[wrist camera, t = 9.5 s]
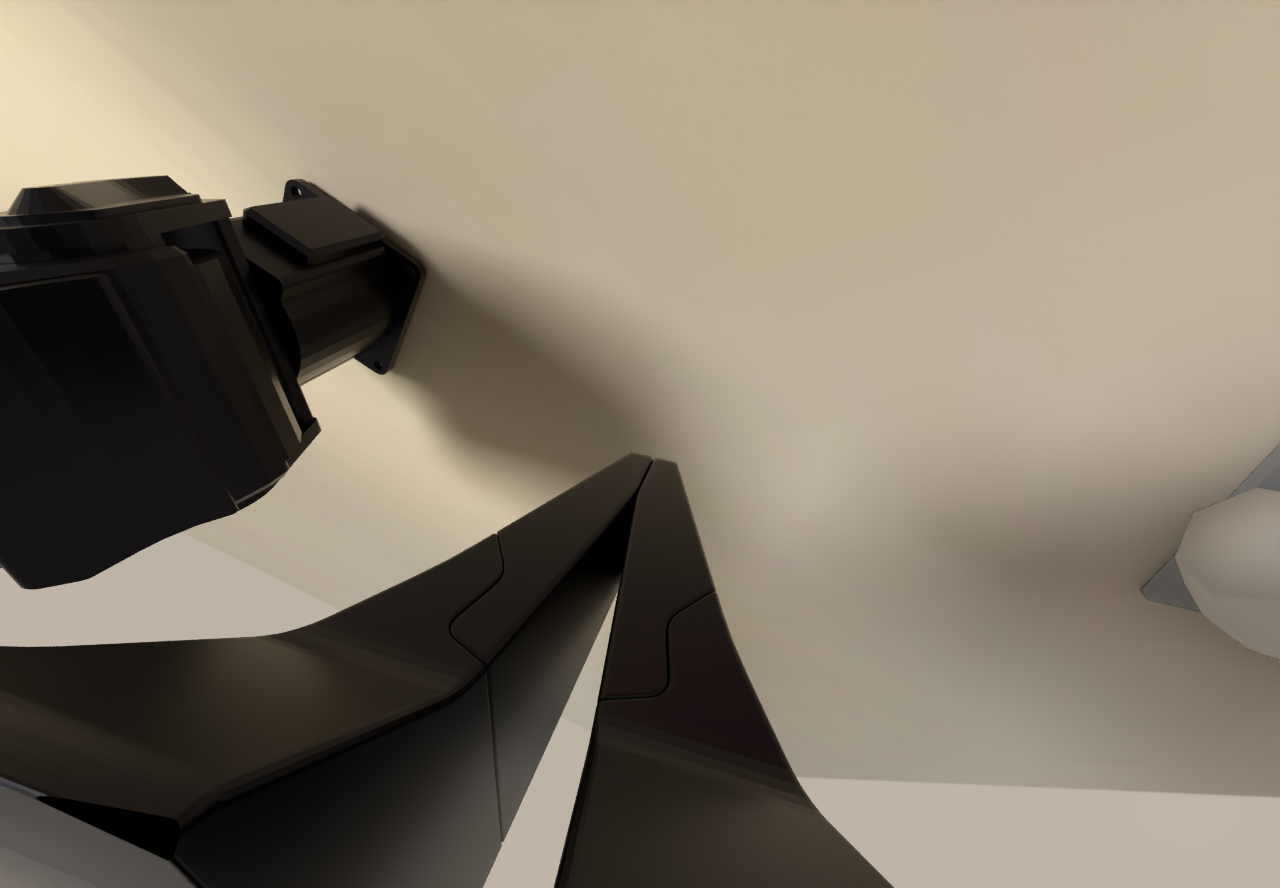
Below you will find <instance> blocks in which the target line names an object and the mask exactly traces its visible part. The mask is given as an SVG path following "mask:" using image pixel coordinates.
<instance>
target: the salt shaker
mask: <svg viewBox="0 0 1280 888" xmlns="http://www.w3.org/2000/svg"><path fill="white" fill-rule="evenodd" d="M1175 559H1176V561H1177V564H1178V567H1179V570H1180V572H1181V575H1182V578H1183V580H1184V583H1185V585H1186V587H1187V589H1188V590H1189V592H1190V594H1191V595H1192V597H1193V599H1194V601H1195V602H1196V604H1197V606H1198V607H1199V609H1200V611H1201V612H1202V614H1203V615H1204V616H1205V617H1206V618H1207V619H1208V620H1209V621H1210V622H1211V623H1213V624H1214V625H1215V626H1217V627H1218V628H1219V629H1221V630H1222V631H1224V632H1225V633H1226V634H1228V635H1229V636H1230V637H1232V638H1233V639H1235V640H1236V641H1237V642H1239V643H1240V644H1241V645H1243V646H1244V647H1245V648H1247V649H1249V650H1252V651H1255V652H1258V653H1261V654H1264V655H1267V656H1270V657H1273V658H1276V659H1279V660H1280V492H1279V491H1274V490H1268V489H1262V488H1255V489H1252V490H1250V491H1247V492H1245V493H1242V494H1239V495H1237V496H1234V497H1232V498H1229V499H1226V500H1224V501H1221V502H1219V503H1216V504H1214V505H1211V506H1208V507H1206V508H1203V509H1201V510H1198V511H1195V512H1193V514H1192V517H1191V519H1190V521H1189V524H1188V526H1187V529H1186V531H1185V534H1184V536H1183V539H1182V541H1181V543H1180V546H1179V548H1178V551H1177V553H1176V556H1175Z"/></svg>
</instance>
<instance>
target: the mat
mask: <svg viewBox="0 0 1280 888" xmlns="http://www.w3.org/2000/svg"><path fill="white" fill-rule="evenodd" d="M1255 488H1262V489H1268V490H1274V491H1279V492H1280V444H1279V445H1278V446H1277V447H1276V448H1275V450H1274V451H1273V452H1272V453H1271V454H1270V455H1269V456H1268V457H1267V458H1266V459H1265V460H1264V461H1263V462H1262V463H1261V464H1260V465H1259V466H1258V467H1257V468H1256V470H1255V471H1254V472H1253V473H1252V474H1251V475H1250V476H1249V477H1248V478H1247V479H1246V480H1245V481H1244V482H1243V483H1242V484H1241V485H1240V486H1239V487H1238V488H1237V490H1236V491H1235V492H1234V493H1233V494H1232V495H1231V496H1230V497H1229V498H1232V497H1234V496H1237V495H1239V494H1242V493H1245V492H1247V491H1250V490H1252V489H1255ZM1229 498H1228V499H1229ZM1175 556H1176V554H1175V555H1174V556H1173V557H1172V558H1171V559H1170V560H1169V561H1168V562H1167V563H1166V564H1165V565H1164V566H1163V567H1162V568H1161V569H1160V571H1159V572H1158V573H1157V574H1156V575H1155V576H1154V577H1153V578H1152V579H1151V580H1150V581H1149V582H1148V583H1147V584H1146V585H1145V586H1144V587H1143V588H1142V589H1141V591H1140V592H1141V593H1142V594H1143V595H1144V597H1145V598H1146V599H1147V600H1150V601H1155V602H1159V603H1163V604H1167V605H1172V606H1176V607H1180V608H1185V609H1189V610H1193V611H1197V612H1201V611H1200V609H1199V607H1198V606H1197V604H1196V602H1195V601H1194V599H1193V597H1192V595H1191V594H1190V592H1189V590H1188V589H1187V587H1186V585H1185V583H1184V580H1183V578H1182V575H1181V572H1180V570H1179V567H1178V564H1177V561H1176V559H1175Z"/></svg>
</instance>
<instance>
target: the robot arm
mask: <svg viewBox="0 0 1280 888" xmlns="http://www.w3.org/2000/svg"><path fill="white" fill-rule="evenodd" d="M298 189H299V190H300V191H301V194H302V196H301V195H300V194H299V192H298ZM229 217H232V215H231V213H230V210H229V208H228V205H227V203H226V201H225V199H201V198H200V196H199V194H191V193H187V192H186V191H185V190H184V189H182V188H181V187H180V186H179V185H178V184H177V183H175V182H174V181H173V180H172V179H171V178H170V177H168V176H147V177H134V178H121V179H107V180H95V181H84V182H74V183H65V184H56V185H47V186H38V187H29V188H22V189H21V191H20V193H19V194H18V196H17V197H16V199H15V201H14V202H13V204H12V205H11V207H10V209H9V210H8V211H6V212H0V568H3V569H4V570H5V571H6V572H7V573H8V574H9V575H10V576H11V577H12V578H13V579H14V580H15V581H16V582H17V583H18V585H19V586H20V587H21V588H24V589H41V588H46V587H51V586H57V585H62V584H67V583H73V582H78V581H82V580H86V579H89V578H91V577H93V576H95V575H97V574H99V573H101V572H102V571H104V570H106V569H108V568H110V567H112V566H113V565H115V564H117V563H119V562H121V561H122V560H124V559H126V558H128V557H130V556H132V555H134V554H135V553H137V552H139V551H141V550H143V549H145V548H147V547H149V546H151V545H153V544H155V543H157V542H159V541H161V540H163V539H165V538H167V537H170V536H172V535H175V534H177V533H180V532H182V531H185V530H187V529H189V528H192V527H194V526H197V525H200V524H203V523H206V522H210V521H213V520H216V519H219V518H223V517H226V516H229V515H232V514H234V513H236V512H237V511H239V510H241V509H243V508H245V507H247V506H249V505H250V504H252V503H254V502H256V501H257V500H258V499H260V498H261V497H263V496H264V495H266V494H267V493H268V492H269V491H270V490H271V489H272V488H273V487H274V486H275V485H276V483H277V482H278V481H279V480H280V479H281V478H282V477H283V476H284V475H285V474H286V472H287V471H288V470H289V468H290V467H291V466H292V465H293V463H294V462H295V461H296V460H297V459H298V457H299V456H300V455H301V454H302V453H303V452H304V450H305V449H306V448H307V447H308V446H309V444H310V443H311V442H312V441H313V440H314V439H315V437H316V436H317V435H318V434H319V433H320V432H321V428H320V426H319V423H318V421H317V419H316V418H315V417H313V416H312V413H311V411H310V409H309V406H308V404H307V402H306V399H305V397H304V394H303V392H302V390H301V387H300V386H302V385H304V384H306V383H307V382H309V381H311V380H313V379H315V378H317V377H319V376H321V375H322V374H324V373H326V372H328V371H330V370H332V369H334V368H336V367H337V366H339V365H341V364H343V363H345V362H347V361H349V360H351V359H352V358H354V359H356V360H357V361H359V362H361V363H362V364H364V365H365V366H367V367H368V368H370V369H371V370H373V371H374V372H376V373H378V374H381V375H383V374H386V373H387V372H389V371H391V369H392V368H393V365H394V362H395V360H396V357H397V354H398V351H399V349H400V346H401V343H402V340H403V338H404V335H405V332H406V329H407V327H408V324H409V321H410V318H411V316H412V313H413V310H414V307H415V305H416V302H417V299H418V296H419V294H420V291H421V288H422V285H423V283H424V280H425V277H426V271H425V268H424V266H423V264H422V263H421V262H420V261H419V260H417V259H416V258H414V257H413V256H412V255H410V254H409V253H407V252H406V251H405V250H403V249H402V248H400V247H399V246H397V245H396V244H395V243H393V242H392V241H390V240H389V239H387V238H386V237H385V236H384V235H383V234H382V233H381V231H380V230H379V229H377V228H376V227H374V226H373V225H372V224H370V223H369V222H367V221H366V220H364V219H363V218H362V217H360V216H359V215H357V214H356V213H355V212H353V211H352V210H350V209H349V208H347V207H346V206H345V205H343V204H342V203H340V202H339V201H337V200H336V199H335V198H333V197H332V196H326V195H325V194H323V193H322V192H321V191H319V190H318V189H316V188H315V187H313V186H312V185H311V184H309V183H308V182H306V181H305V180H302V179H292V180H289V181H287V183H286V185H285V191H284V197H283V202H281V203H274V204H267V205H260V206H253V207H249V208H246V209H244V210H243V217H237V218H231V219H229ZM410 267H412V268H413V269H414V271H415V275H413V274H412V273H411V270H410ZM379 361H380V362H381V363H382V365H383V366H382V365H381V364H380V363H379ZM617 591H618V595H617V600H616V605H615V611H614V616H613V621H612V627H611V632H610V637H609V643H608V648H607V653H606V659H605V664H604V669H603V675H602V680H601V685H600V691H599V696H598V702H597V707H596V712H595V717H594V722H593V727H592V732H591V737H590V742H589V746H588V751H587V755H586V760H585V763H584V767H583V772H582V775H581V779H580V784H579V788H578V792H577V796H576V800H575V804H574V808H573V812H572V816H571V820H570V824H569V828H568V832H567V836H566V840H565V845H564V848H563V853H562V857H561V861H560V865H559V869H558V873H557V877H556V881H555V885H554V888H894V887H893V886H892V885H891V884H890V883H889V882H888V881H887V880H886V879H885V878H884V877H883V876H882V875H881V874H880V873H879V872H878V871H877V870H876V869H875V868H874V867H873V866H872V865H871V864H870V863H869V862H868V861H867V860H866V859H865V858H864V857H863V856H862V855H861V854H860V853H859V852H858V851H857V850H856V849H855V848H854V847H853V846H852V845H851V844H850V843H849V842H848V841H847V840H846V839H845V838H844V837H843V836H842V835H841V834H840V833H839V832H838V831H837V830H836V829H835V828H834V827H833V826H832V825H831V824H830V823H829V822H828V821H827V820H826V818H824V816H823V815H822V814H821V813H820V812H819V810H818V809H817V808H816V807H815V805H814V804H813V803H812V801H811V800H810V798H809V797H808V796H807V794H806V793H805V791H804V790H803V788H802V786H801V785H800V783H799V781H798V780H797V778H796V776H795V774H794V772H793V770H792V768H791V766H790V764H789V762H788V760H787V758H786V756H785V754H784V752H783V750H782V748H781V745H780V743H779V741H778V739H777V737H776V735H775V733H774V731H773V728H772V726H771V724H770V722H769V720H768V718H767V716H766V713H765V711H764V709H763V707H762V705H761V703H760V701H759V698H758V696H757V694H756V692H755V690H754V688H753V686H752V683H751V681H750V679H749V677H748V675H747V673H746V670H745V668H744V666H743V663H742V661H741V659H740V656H739V654H738V652H737V650H736V647H735V645H734V643H733V640H732V637H731V634H730V632H729V629H728V626H727V623H726V620H725V617H724V614H723V611H722V608H721V605H720V602H719V598H718V595H717V593H715V592H716V589H715V586H714V583H713V579H712V576H711V573H710V570H709V566H708V563H707V560H706V557H705V553H704V550H703V547H702V543H701V540H700V537H699V534H698V530H697V527H696V524H695V521H694V517H693V514H692V511H691V507H690V504H689V501H688V498H687V494H686V491H685V488H684V484H683V481H682V478H681V475H680V471H679V468H678V465H677V464H676V463H675V462H672V461H667V460H663V459H659V458H656V459H654V460H653V458H652V457H650V456H646V455H642V454H637V453H630V454H628V455H626V456H624V457H623V458H621V459H619V460H618V461H616V462H614V463H612V464H611V465H609V466H607V467H606V468H604V469H602V470H601V471H599V472H597V473H596V474H594V475H592V476H591V477H589V478H587V479H585V480H584V481H582V482H580V483H579V484H577V485H575V486H574V487H572V488H570V489H569V490H567V491H565V492H564V493H562V494H560V495H558V496H557V497H555V498H553V499H552V500H550V501H548V502H547V503H545V504H543V505H542V506H540V507H538V508H537V509H535V510H533V511H531V512H530V513H528V514H526V515H525V516H523V517H521V518H520V519H518V520H516V521H515V522H513V523H511V524H510V525H508V526H506V527H504V528H503V529H501V530H499V531H498V532H497V535H496V534H492V535H491V536H489V537H487V538H486V539H484V540H482V541H480V542H479V543H477V544H475V545H474V546H472V547H470V548H468V549H466V550H465V551H463V552H461V553H459V554H457V555H456V556H454V557H452V558H450V559H448V560H447V561H445V562H443V563H441V564H438V565H436V566H434V567H432V568H430V569H428V570H426V571H424V572H422V573H420V574H418V575H416V576H414V577H412V578H410V579H408V580H406V581H404V582H402V583H399V584H397V585H395V586H393V587H391V588H389V589H387V590H385V591H382V592H380V593H378V594H376V595H374V596H372V597H370V598H368V599H365V600H363V601H361V602H359V603H357V604H355V605H353V606H351V607H348V608H346V609H344V610H342V611H340V612H338V613H336V614H334V615H332V616H329V617H327V618H325V619H322V620H320V621H318V622H315V623H313V624H310V625H307V626H304V627H301V628H298V629H295V630H291V631H287V632H284V633H279V634H273V635H266V636H257V637H240V638H221V639H199V640H181V641H159V642H139V643H120V644H99V645H79V646H61V647H60V646H56V647H9V646H8V647H7V646H0V888H483V886H484V884H485V882H486V879H487V877H488V875H489V873H490V870H491V868H492V866H493V864H494V862H495V860H496V857H497V855H498V853H499V851H500V849H501V846H502V845H501V842H503V841H504V839H505V837H506V835H507V833H508V831H509V828H510V826H511V824H512V822H513V820H514V818H515V815H516V813H517V811H518V809H519V806H520V804H521V802H522V800H523V797H524V795H525V793H526V791H527V789H528V787H529V785H530V782H531V780H532V778H533V776H534V773H535V771H536V769H537V767H538V764H539V763H540V760H541V758H542V756H543V754H544V752H545V749H546V747H547V745H548V743H549V741H550V738H551V736H552V734H553V731H554V730H555V727H556V725H557V723H558V721H559V718H560V716H561V714H562V712H563V710H564V708H565V705H566V703H567V701H568V699H569V697H570V694H571V692H572V690H573V688H574V686H575V684H576V681H577V679H578V677H579V675H580V673H581V670H582V668H583V666H584V664H585V662H586V659H587V657H588V655H589V653H590V651H591V648H592V646H593V644H594V642H595V640H596V637H597V635H598V633H599V631H600V629H601V626H602V624H603V622H604V620H605V618H606V615H607V613H608V611H609V609H610V607H611V604H612V602H613V600H614V598H615V596H616V593H617Z"/></svg>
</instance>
